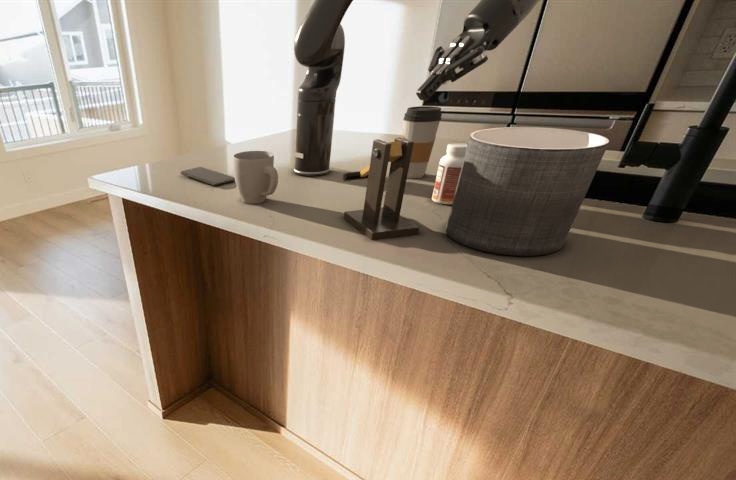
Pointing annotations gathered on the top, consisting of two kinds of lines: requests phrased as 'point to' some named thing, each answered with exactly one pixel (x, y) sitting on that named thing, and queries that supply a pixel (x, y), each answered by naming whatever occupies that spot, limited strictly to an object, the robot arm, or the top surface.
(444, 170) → the pill bottle
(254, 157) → the mug
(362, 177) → the lever
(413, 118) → the coffee cup
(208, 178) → the smartphone
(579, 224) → the top surface
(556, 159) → the planter
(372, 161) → the lever stand
